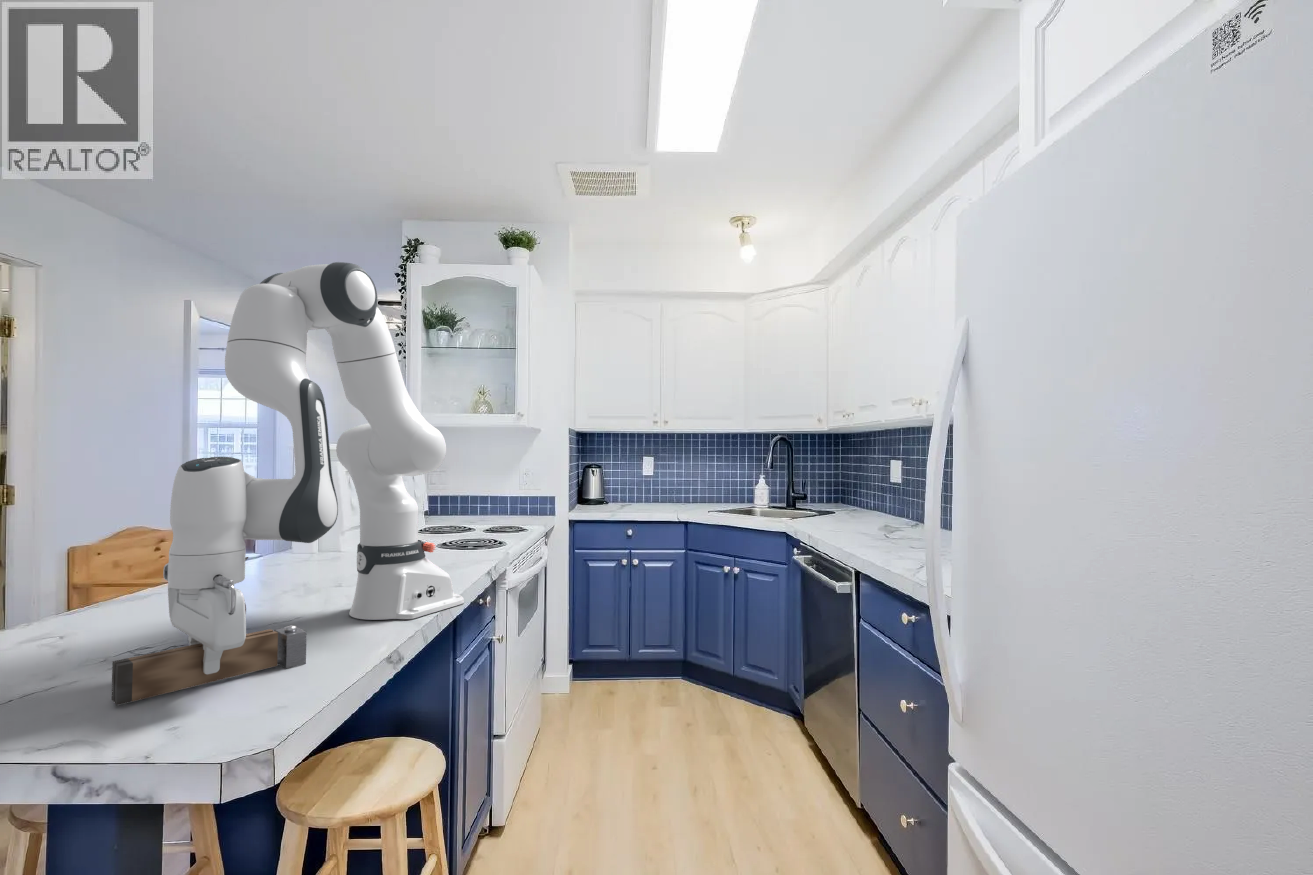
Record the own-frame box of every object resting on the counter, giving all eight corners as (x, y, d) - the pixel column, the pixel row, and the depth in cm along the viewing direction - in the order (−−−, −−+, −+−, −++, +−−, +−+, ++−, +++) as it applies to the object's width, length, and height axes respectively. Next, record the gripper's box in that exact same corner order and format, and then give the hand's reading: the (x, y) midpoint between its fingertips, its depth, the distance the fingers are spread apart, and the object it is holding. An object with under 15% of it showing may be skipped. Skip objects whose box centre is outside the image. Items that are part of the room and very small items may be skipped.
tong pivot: (292, 657, 97) (293, 622, 97) (305, 663, 94) (306, 627, 94) (273, 661, 95) (274, 625, 95) (286, 668, 92) (286, 631, 92)
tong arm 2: (274, 663, 93) (274, 631, 93) (277, 665, 92) (278, 632, 92) (114, 702, 78) (115, 663, 78) (116, 705, 77) (117, 666, 77)
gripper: (261, 577, 82) (258, 679, 82) (210, 559, 95) (208, 648, 95) (205, 584, 77) (202, 694, 77) (159, 565, 90) (157, 659, 90)
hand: (205, 668), depth 86 cm, fingers open, 3 cm apart
